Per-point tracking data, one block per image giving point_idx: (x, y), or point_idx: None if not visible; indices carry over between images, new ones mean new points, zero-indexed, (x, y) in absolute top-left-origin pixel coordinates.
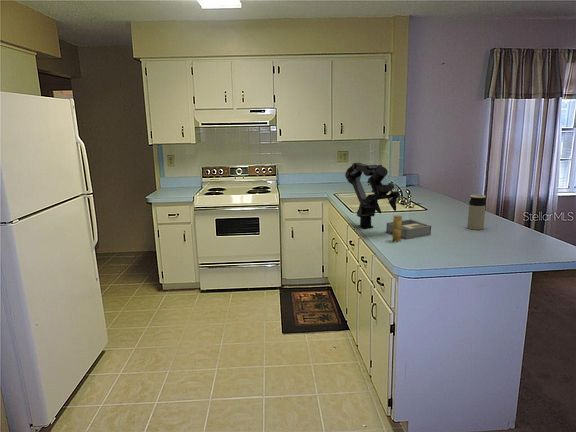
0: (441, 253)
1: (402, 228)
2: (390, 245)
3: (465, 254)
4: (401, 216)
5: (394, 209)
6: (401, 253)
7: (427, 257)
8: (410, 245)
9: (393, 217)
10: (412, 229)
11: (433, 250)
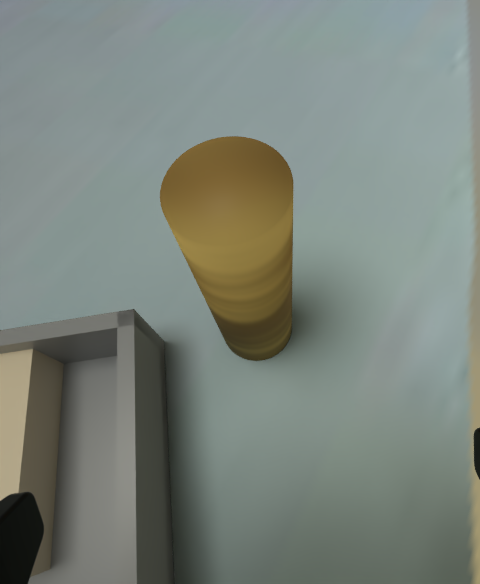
0: (156, 59)
1: (134, 367)
2: (364, 234)
3: (67, 34)
4: (176, 166)
5: (17, 550)
6: (364, 92)
7: (260, 28)
8: None
9: (290, 211)
10: (56, 326)
11: (159, 99)
